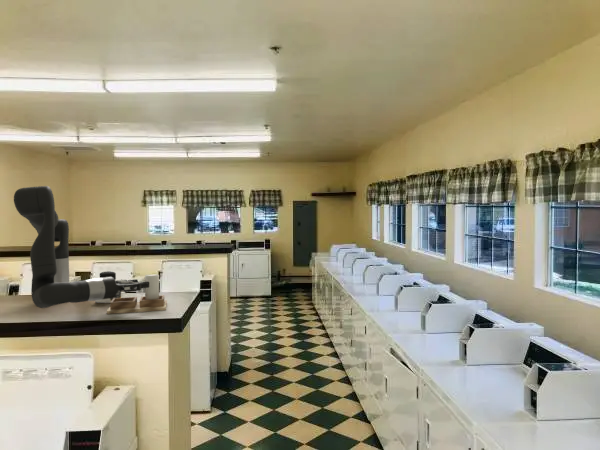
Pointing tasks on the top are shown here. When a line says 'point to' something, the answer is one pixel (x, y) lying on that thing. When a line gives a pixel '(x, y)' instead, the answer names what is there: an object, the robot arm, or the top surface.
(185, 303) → the top surface
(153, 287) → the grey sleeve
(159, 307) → the socket board
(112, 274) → the medicine bottle
